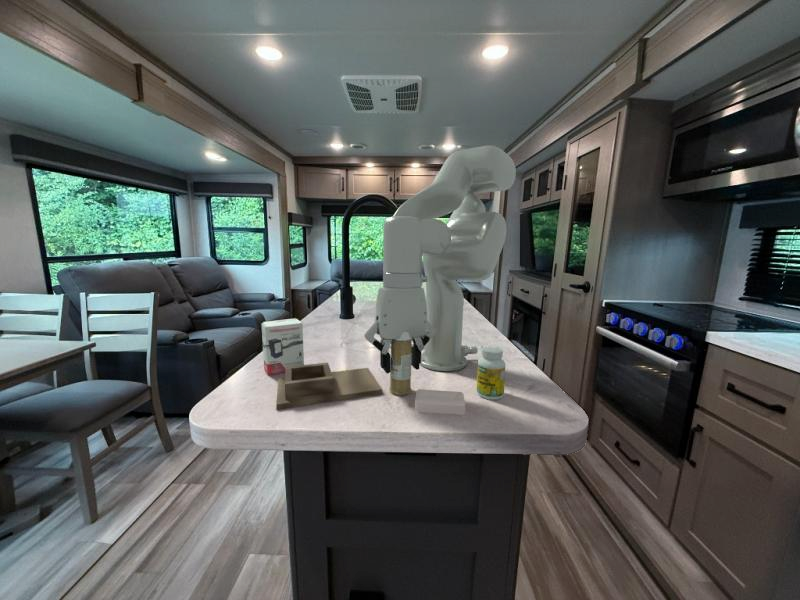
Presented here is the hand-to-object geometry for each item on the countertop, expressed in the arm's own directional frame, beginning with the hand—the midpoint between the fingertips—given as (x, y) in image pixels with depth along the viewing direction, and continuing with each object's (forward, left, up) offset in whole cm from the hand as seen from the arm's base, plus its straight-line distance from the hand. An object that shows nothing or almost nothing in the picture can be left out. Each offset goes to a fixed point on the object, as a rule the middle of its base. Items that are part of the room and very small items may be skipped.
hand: (400, 368), depth 62 cm
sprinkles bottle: (0, 0, -5) cm, 5 cm away
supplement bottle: (-17, +7, -5) cm, 19 cm away
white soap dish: (-5, +8, -6) cm, 11 cm away
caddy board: (+14, -6, -5) cm, 16 cm away
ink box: (+23, -20, -5) cm, 31 cm away
